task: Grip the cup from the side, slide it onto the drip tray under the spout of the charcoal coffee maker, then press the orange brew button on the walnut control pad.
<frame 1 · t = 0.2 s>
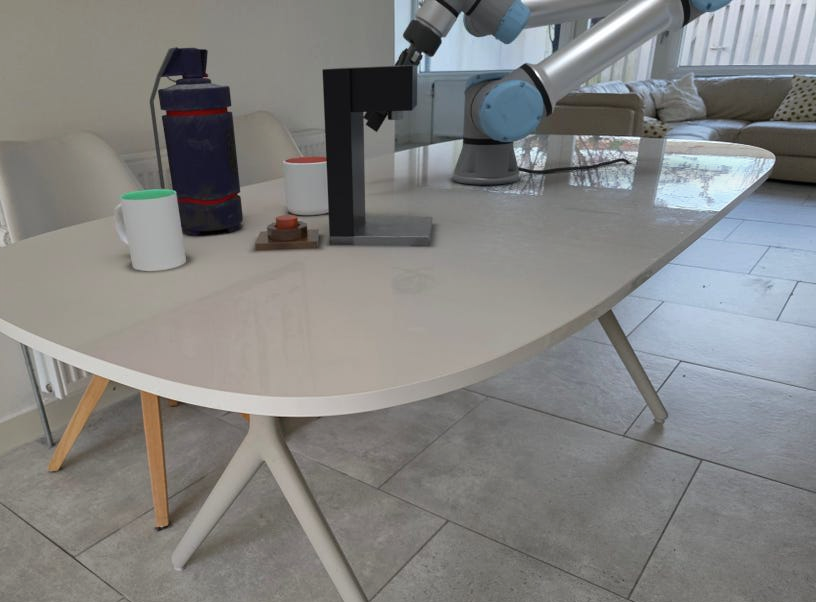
hand: (369, 124, 132), 15 cm above the table, tool tilted 35°, fingers open, 13 cm apart
grenade: (206, 230, 114), on the table
mug: (150, 262, 96), on the table
brew pad: (288, 243, 103), on the table
cup: (311, 212, 125), on the table
brew button: (286, 222, 102), point 3 cm above the table, slide at 0.1 cm
coffee maker: (395, 234, 106), on the table
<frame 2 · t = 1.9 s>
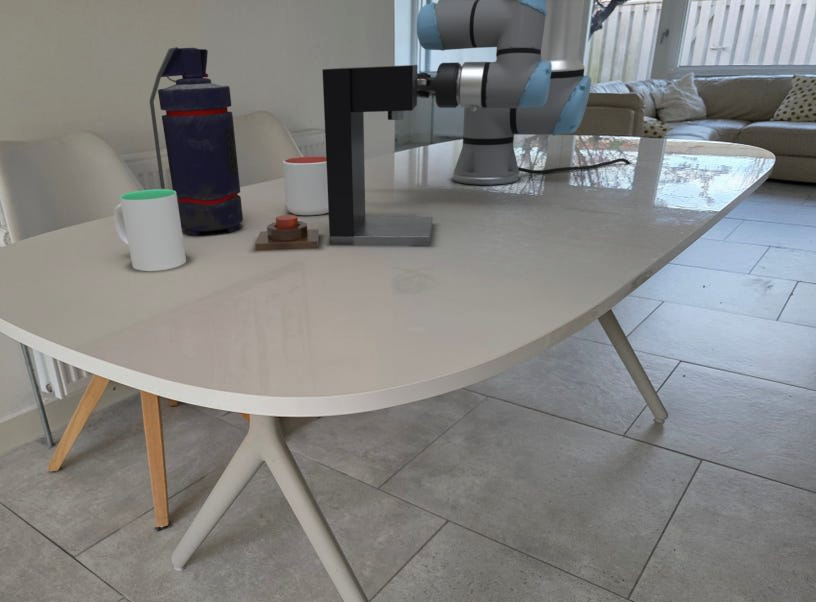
hand: (348, 86, 119), 23 cm above the table, tool horizontal, fingers open, 13 cm apart
nothing on the table moved.
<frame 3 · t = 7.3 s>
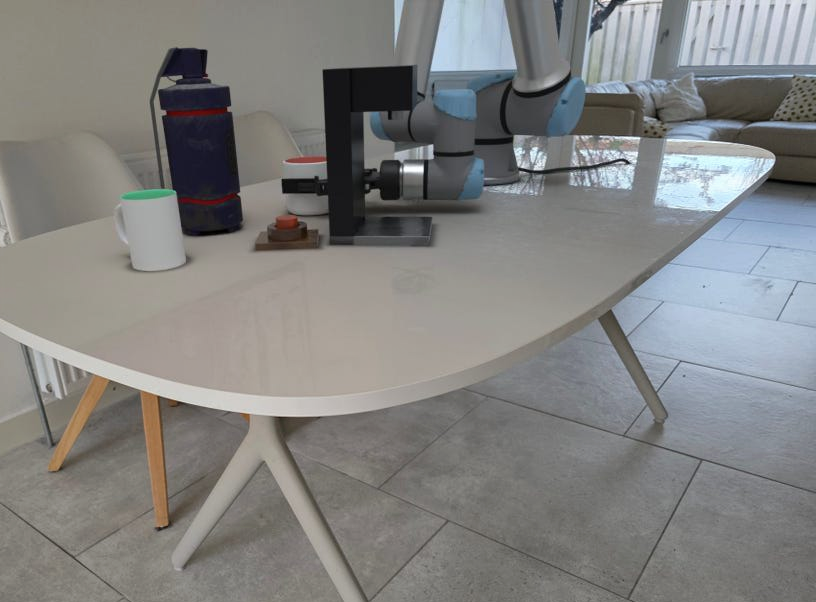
hand: (289, 181, 123), 6 cm above the table, tool horizontal, fingers closed on cup, 10 cm apart
cup: (311, 212, 125), on the table, touching gripper
everything else where it was.
when the fingers open (7 cm above the table, at t = 19.4 s): cup stays where it is, resting on coffee maker.
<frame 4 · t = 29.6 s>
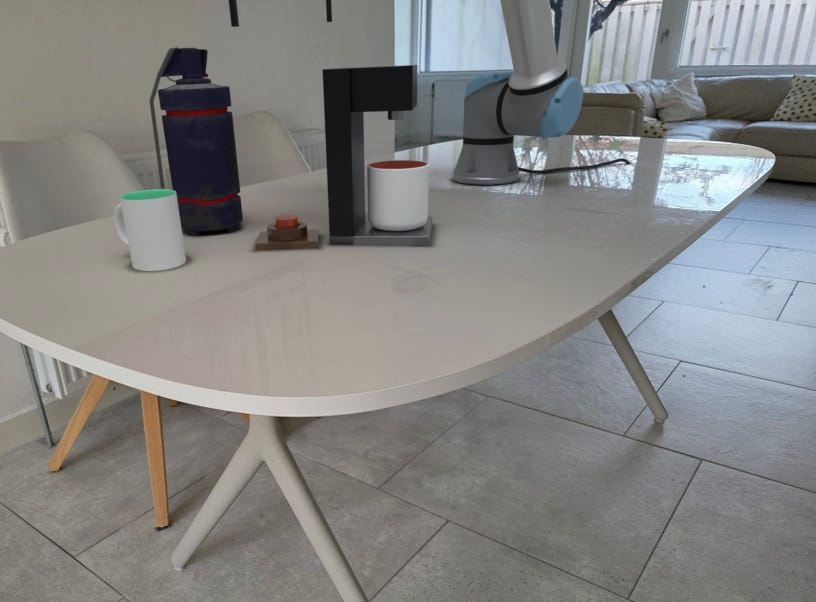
hand: (282, 24, 89), 32 cm above the table, tool pointing down, fingers open, 13 cm apart
cup: (397, 227, 105), point 1 cm above the table, touching coffee maker
everything else where it was.
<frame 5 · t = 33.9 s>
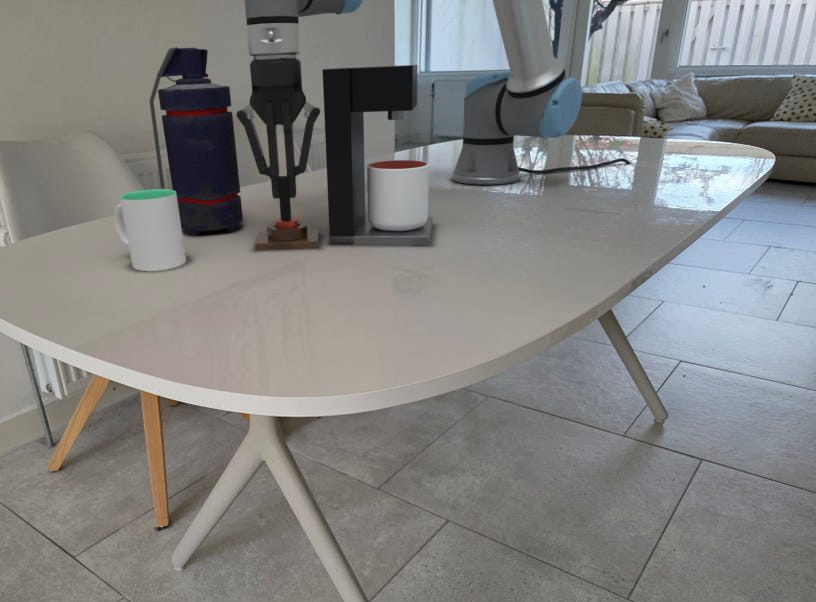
hand: (286, 218, 101), 4 cm above the table, tool pointing down, fingers closed
brew button: (287, 224, 102), point 3 cm above the table, slide at -0.3 cm, touching gripper
everything else where it was.
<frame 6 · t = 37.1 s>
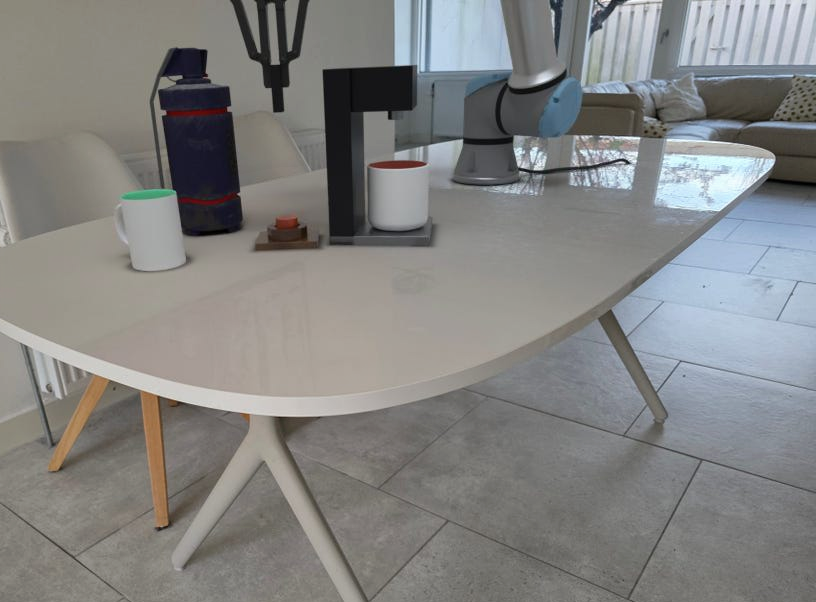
hand: (278, 111, 94), 20 cm above the table, tool pointing down, fingers closed
brew button: (286, 222, 102), point 3 cm above the table, slide at 0.1 cm
everything else where it was.
at the end: cup inside the target area on the coffee maker (0.4 cm from its centre), point 1.3 cm above the coffee maker's base; cup tilted 0°; brew button pushed in 1.0 cm at the most during the clip, back to where it started at the end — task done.
